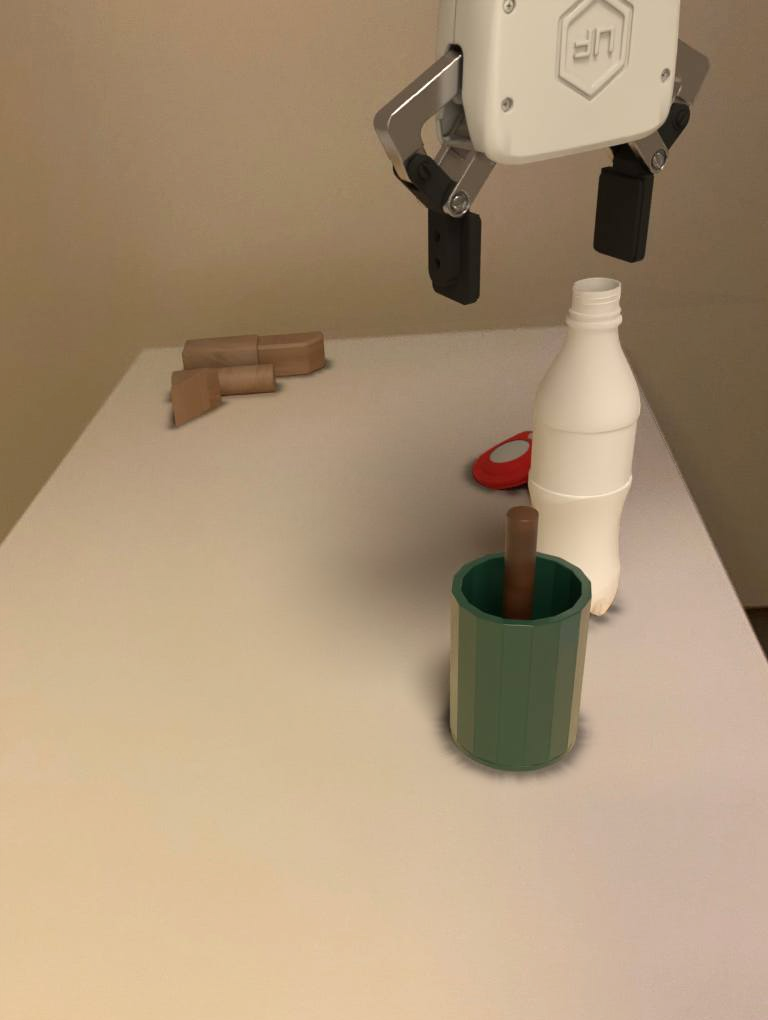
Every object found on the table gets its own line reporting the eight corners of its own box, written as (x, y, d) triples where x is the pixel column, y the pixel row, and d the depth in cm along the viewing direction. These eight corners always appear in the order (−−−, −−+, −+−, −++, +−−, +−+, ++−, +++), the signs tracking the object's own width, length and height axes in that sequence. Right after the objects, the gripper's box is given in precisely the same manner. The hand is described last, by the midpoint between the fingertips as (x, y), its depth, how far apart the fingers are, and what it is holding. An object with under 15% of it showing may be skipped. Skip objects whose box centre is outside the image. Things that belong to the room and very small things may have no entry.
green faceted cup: (594, 719, 67) (612, 569, 60) (544, 794, 62) (558, 640, 55) (483, 683, 72) (488, 539, 65) (428, 750, 66) (427, 602, 59)
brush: (555, 715, 67) (574, 504, 57) (527, 754, 64) (543, 539, 54) (494, 695, 69) (503, 488, 59) (465, 732, 66) (470, 521, 57)
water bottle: (539, 574, 82) (560, 264, 68) (626, 593, 79) (669, 271, 64) (507, 620, 77) (523, 297, 63) (599, 642, 74) (638, 307, 59)
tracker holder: (448, 471, 96) (511, 414, 99) (463, 508, 98) (524, 451, 102) (550, 482, 87) (614, 418, 90) (563, 523, 89) (626, 459, 92)
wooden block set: (176, 331, 123) (322, 320, 121) (183, 375, 126) (325, 365, 125) (158, 383, 109) (322, 370, 108) (167, 431, 112) (326, 419, 111)
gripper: (425, -160, 34) (428, 336, 44) (807, -195, 39) (731, 257, 49) (325, -141, 39) (348, 295, 49) (670, -173, 44) (627, 228, 55)
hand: (538, 276), depth 49 cm, fingers open, 9 cm apart
